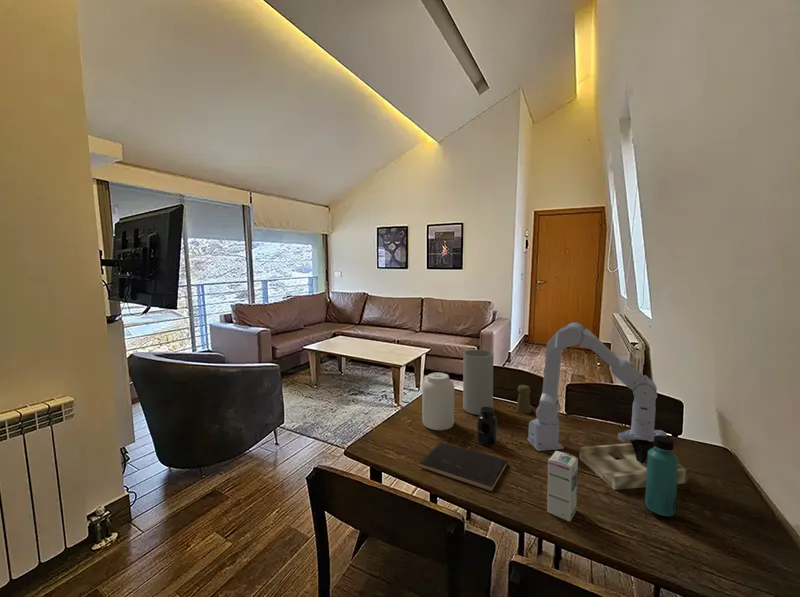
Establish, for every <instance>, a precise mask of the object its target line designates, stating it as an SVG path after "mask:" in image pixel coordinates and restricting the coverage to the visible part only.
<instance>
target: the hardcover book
mask: <svg viewBox="0 0 800 597" xmlns="http://www.w3.org/2000/svg"><path fill="white" fill-rule="evenodd" d="M508 461H509V460H508V459H506V458H501V457H498V456H494V455H491V454H487V453H483V452H481V451H477V450H473V449H470V448H466V447H462V446H458V445H455V444H451V443H448V442H444V441H443V440H441V441H440V442H439V443H437V445H436V446H435V447H433V449H431V451H430V452H429V453H427V455H426V456H425V457H424V458H423V459H422V460H421V461H420V462H419V464H420V466H421V467H420V468H422V469H423V470H424V469H425V470H428V471H431V472H434V473H437V474H440V475H442V476H446V477H449V478H451V479H455V480H457V481H461V482H463V483H466V484H469V485H472V486H475V487H479V488H482V489H485V490H487V491H491V492H492V491H493V490H494V488H495V486H496V484H497V483H498V480H499V479H500V477H501V476H502V474H503V472H504V470H505V468H506V467H507V465H508Z"/></svg>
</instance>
